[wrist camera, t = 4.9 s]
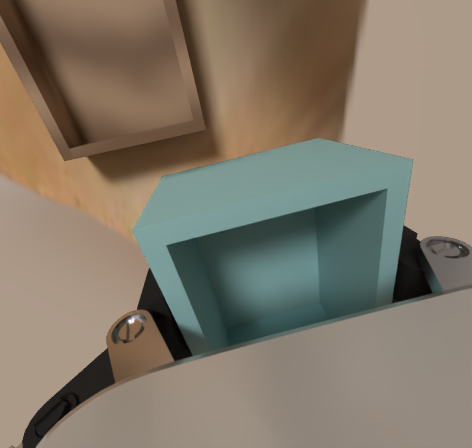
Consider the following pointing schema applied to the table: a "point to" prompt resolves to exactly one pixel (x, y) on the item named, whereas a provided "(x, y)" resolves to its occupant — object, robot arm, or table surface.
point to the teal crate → (276, 239)
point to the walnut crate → (103, 71)
